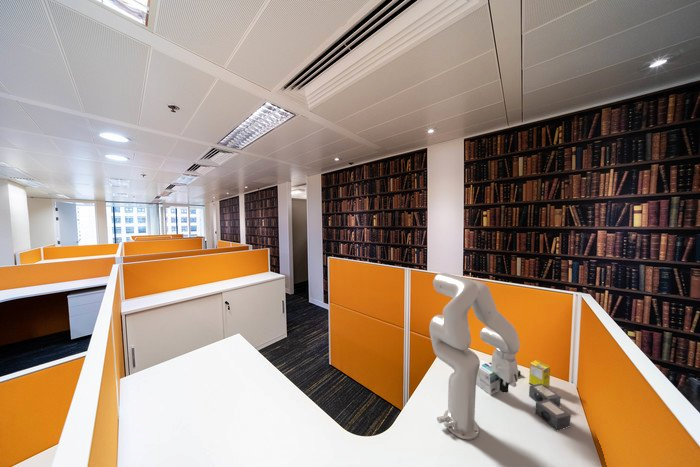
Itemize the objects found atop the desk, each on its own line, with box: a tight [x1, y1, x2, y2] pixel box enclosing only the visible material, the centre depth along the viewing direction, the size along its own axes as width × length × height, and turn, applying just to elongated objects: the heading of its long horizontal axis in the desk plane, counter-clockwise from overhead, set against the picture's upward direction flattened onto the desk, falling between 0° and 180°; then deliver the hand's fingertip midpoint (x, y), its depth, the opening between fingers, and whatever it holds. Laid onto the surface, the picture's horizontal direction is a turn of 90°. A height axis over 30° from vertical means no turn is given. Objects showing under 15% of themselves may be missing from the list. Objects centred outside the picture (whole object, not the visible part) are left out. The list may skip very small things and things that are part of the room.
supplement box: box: [528, 359, 551, 389], centre depth 111 cm, size 6×6×11 cm
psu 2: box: [534, 399, 572, 432], centre depth 92 cm, size 7×8×5 cm
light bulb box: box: [476, 357, 501, 396], centre depth 110 cm, size 11×7×11 cm, turn 22°
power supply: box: [528, 383, 562, 408], centre depth 101 cm, size 7×8×5 cm
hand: (503, 391), depth 103 cm, fingers closed
